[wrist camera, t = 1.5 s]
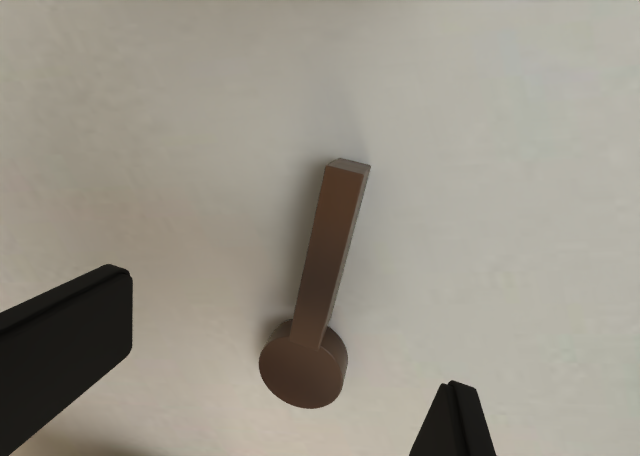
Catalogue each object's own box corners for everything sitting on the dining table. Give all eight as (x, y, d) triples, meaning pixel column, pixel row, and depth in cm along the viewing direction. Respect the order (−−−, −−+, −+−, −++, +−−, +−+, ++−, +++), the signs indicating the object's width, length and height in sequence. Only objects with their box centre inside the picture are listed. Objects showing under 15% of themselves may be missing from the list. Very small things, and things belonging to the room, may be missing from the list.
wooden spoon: (306, 149, 16) (286, 154, 13) (406, 174, 15) (407, 185, 12) (265, 369, 21) (244, 407, 18) (337, 396, 20) (327, 440, 17)
